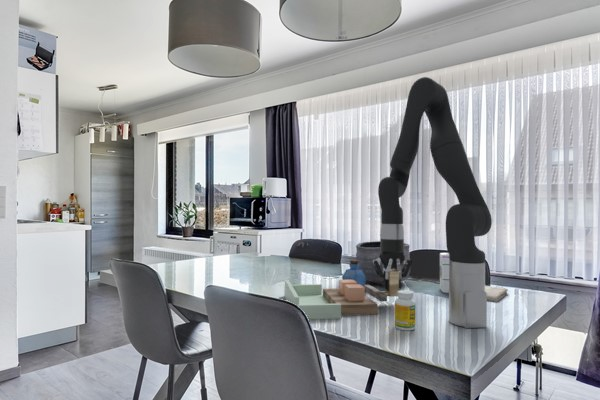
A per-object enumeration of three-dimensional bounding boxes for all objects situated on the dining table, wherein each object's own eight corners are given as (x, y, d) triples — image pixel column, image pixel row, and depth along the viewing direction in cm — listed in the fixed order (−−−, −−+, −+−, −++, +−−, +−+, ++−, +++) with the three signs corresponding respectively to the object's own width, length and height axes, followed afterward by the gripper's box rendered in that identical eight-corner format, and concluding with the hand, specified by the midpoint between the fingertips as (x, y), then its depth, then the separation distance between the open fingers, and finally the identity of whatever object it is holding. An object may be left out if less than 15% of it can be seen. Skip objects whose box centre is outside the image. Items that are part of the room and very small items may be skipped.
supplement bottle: (398, 323, 107) (398, 288, 107) (417, 327, 104) (418, 291, 104) (391, 328, 102) (392, 292, 102) (411, 332, 99) (412, 294, 99)
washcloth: (508, 294, 146) (508, 286, 146) (498, 303, 132) (498, 294, 132) (475, 290, 153) (475, 282, 153) (461, 298, 139) (461, 289, 139)
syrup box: (457, 293, 144) (458, 254, 145) (441, 292, 146) (441, 254, 146) (454, 290, 150) (455, 252, 150) (438, 289, 151) (439, 252, 151)
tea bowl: (372, 273, 180) (372, 236, 179) (418, 280, 167) (418, 240, 166) (345, 285, 160) (345, 244, 159) (396, 294, 147) (396, 249, 146)
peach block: (364, 300, 120) (364, 287, 120) (348, 300, 119) (349, 287, 119) (359, 296, 125) (359, 284, 125) (344, 297, 124) (344, 284, 124)
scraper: (406, 300, 119) (406, 274, 120) (380, 301, 118) (380, 275, 118) (386, 290, 135) (386, 267, 135) (363, 290, 134) (363, 267, 134)
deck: (377, 314, 115) (377, 304, 116) (338, 315, 114) (338, 305, 114) (355, 296, 137) (356, 288, 137) (322, 297, 135) (322, 288, 136)
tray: (340, 318, 111) (341, 297, 111) (295, 319, 109) (295, 298, 109) (320, 295, 139) (321, 278, 139) (284, 296, 137) (284, 279, 137)
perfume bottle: (365, 293, 143) (365, 260, 144) (355, 295, 139) (356, 262, 139) (351, 290, 148) (352, 258, 148) (342, 292, 143) (342, 260, 143)
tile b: (357, 294, 128) (357, 282, 128) (342, 294, 127) (342, 282, 127) (352, 291, 132) (352, 279, 133) (338, 291, 132) (338, 279, 132)
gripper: (375, 238, 123) (375, 293, 122) (417, 238, 125) (417, 292, 125) (367, 236, 130) (367, 288, 130) (407, 236, 132) (407, 287, 132)
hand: (392, 289), depth 127 cm, fingers closed on scraper, 3 cm apart
